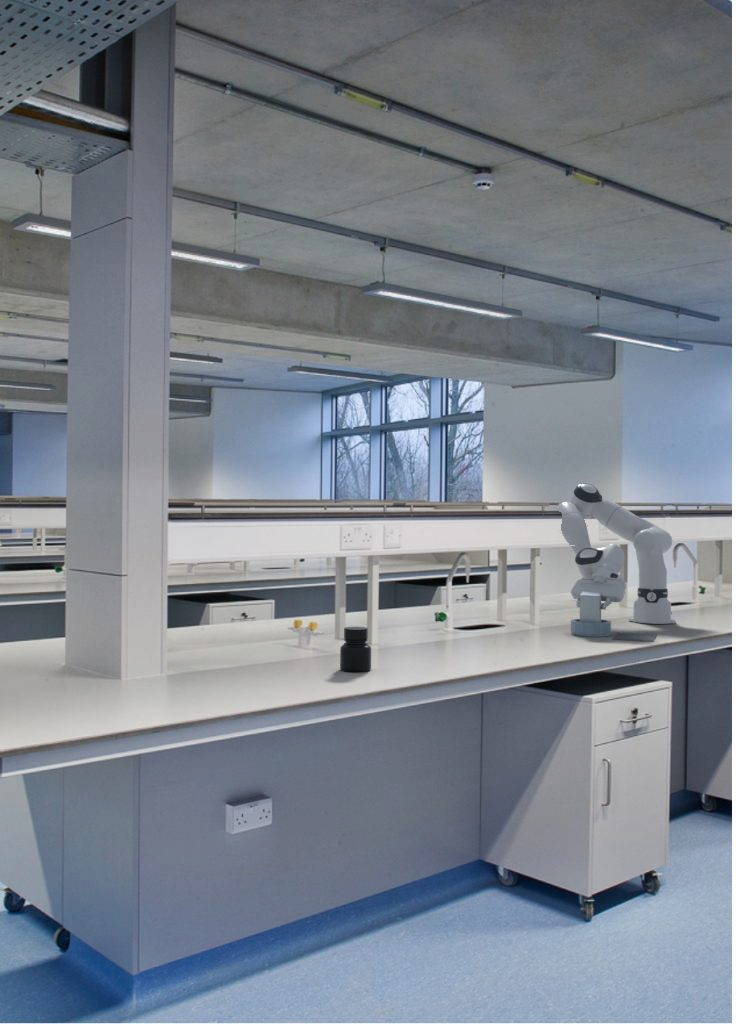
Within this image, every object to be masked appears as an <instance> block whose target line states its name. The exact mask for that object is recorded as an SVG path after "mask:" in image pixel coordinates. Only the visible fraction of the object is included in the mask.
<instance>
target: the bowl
mask: <svg viewBox="0 0 736 1024" xmlns="http://www.w3.org/2000/svg"><path fill="white" fill-rule="evenodd" d="M570 633H571V635H573V636H577V637H586V638H605V637H611V636H612V621H611V620H608V619H603V618H601V623H584V622H580V618H575V619H573V618H572V619H571V620H570Z"/></svg>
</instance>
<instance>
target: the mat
mask: <svg viewBox="0 0 736 1024" xmlns="http://www.w3.org/2000/svg"><path fill="white" fill-rule="evenodd" d="M656 637H657V633H639V632H638V633H637V632H620V631H619V632H617V633H616V634H615V636H613V638H612V640H613V641H614V640H616V641H630V640H632V641H633V642H650V643H652V642H655V640H656Z"/></svg>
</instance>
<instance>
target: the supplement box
mask: <svg viewBox="0 0 736 1024" xmlns="http://www.w3.org/2000/svg"><path fill="white" fill-rule="evenodd" d="M601 604H602V601H601V592H587V591H582V592H581V594H580V607H579V619H580V622H584V623H601V619H602V609H601V607H600V606H601Z"/></svg>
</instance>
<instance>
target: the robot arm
mask: <svg viewBox="0 0 736 1024" xmlns="http://www.w3.org/2000/svg"><path fill="white" fill-rule="evenodd" d="M555 511H559V512H561V513H562V524H561V531H562V534H563V535H562V534H561V535H562V537H563V536H564V537H563V538H564V540H565V541H566V543H567V544H568V543H569V544H568V545H569V546H570V545H575V546H570V548H571V549H572V551H573V552H574V553H575V555H576V556H575V557H574V562H575V564H576V567H577V568H578V569H577V570H578V571H579V572H580V573H579V574H580V575H581V578H580V579H578V580H576V582H575V584H574V585H573V586H572V588H571V590H570V594H571V596H572V598H573V600H577V601H576V607H577V608H580V594H581V592H582V591H587V592H601V606H600V607H601V610H606V609H607V608H608V607H609V606H610V605H611V604H612V603H621V602H622V601H623V599H624V596H625V593H626V591H625V590H626V589H627V584H626V581H625V580H624V578H623V576H622V575H621V574H619V573H620V572H621V571H622V568H623V566H624V563H625V562H624V561H625V559H626V554H625V551H624V550H623V549H622V547H620V546H619V545H617V544H614V543H608V544H607V545H605V546H604V547H599V548H598V547H597V548H594V547H592V545H591V540H590V535H589V531H588V528H587V527H588V525H587V526H586V523H585V520H584V518H583V517H585V518H591V519H592V518H594V519H595V518H596V519H597V520H598V521H599V522H598V521H597V520H596V519H595V520H596V521H597V522H598V523H599V524H601V525H602V526H603V527H605V528H606V529H608V530H610V531H611V532H613V533H614V534H615V535H617V536H619V537H620V538H621V539H624V540H625V541H626V540H627V541H629V542H630V543H632V545H633V547H634V549H635V553H636V560H637V564H638V587H637V598H636V599H635V600H634V601H633V612H632V614H633V616H632V617H629V618H628V621H629V622H634V623H635V622H636V623H640V624H649V625H651V624H653V625H654V624H655V625H658V624H659V625H665V624H666V625H667V624H677V620H676V619H674V618H672V614H673V613H672V603H671V601H669V600H668V595H669V591H668V588H667V586H668V585H667V573H668V572H667V568H666V565H665V559H664V554H665V553H666V552H668V551H669V550H670V548H671V547H672V545H673V538H672V536H671V534H670V533H669V532H668V531H667V530H664V529H663V528H661V527H659V526H658V525H655V524H654V523H652V522H650V521H648V520H646V519H643V518H642V517H640V516H638V515H636V514H634V513H633V512H631V511H630V510H628V509H627V508H625V507H623V506H622V505H620V504H618V503H616V502H614V501H612V500H610V499H608V498H606V497H605V498H604V497H603V496H602V495H601V493H600V491H599V490H598V488H596V487H595V485H592V484H590V483H586V482H585V483H584V482H583V483H579V484H578V485H576V487H575V488H574V490H573V493H572V495H571V496H570V498H569V501H565V502H561V503H559V504H558V505H557V506H556V507H555V509H554V512H555ZM602 602H603V603H602Z"/></svg>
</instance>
